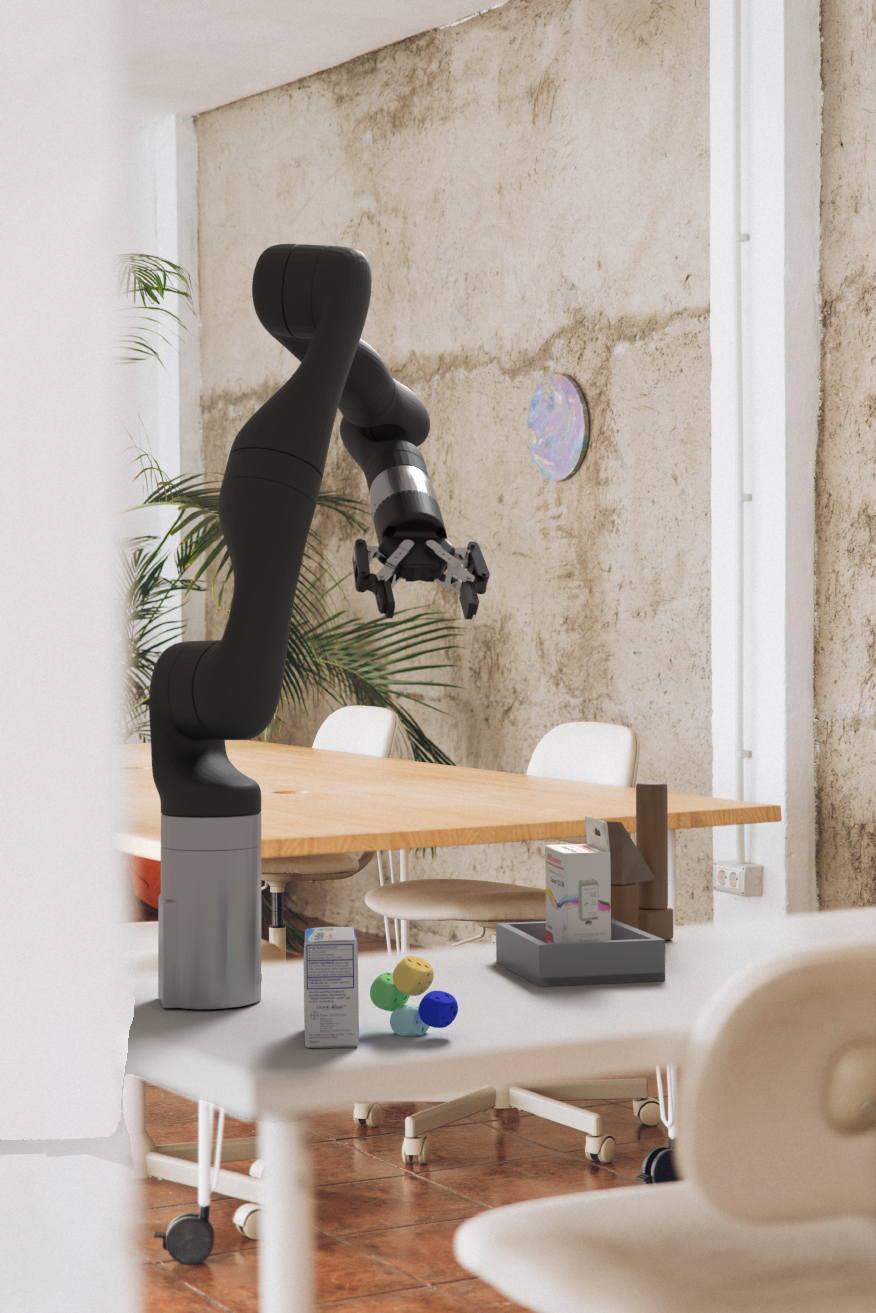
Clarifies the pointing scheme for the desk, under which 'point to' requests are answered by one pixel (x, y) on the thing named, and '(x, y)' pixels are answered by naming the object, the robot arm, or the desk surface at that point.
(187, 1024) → the desk surface
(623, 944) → the box
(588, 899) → the ink cartridge box
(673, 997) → the desk surface
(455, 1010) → the dice
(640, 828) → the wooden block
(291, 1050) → the desk surface
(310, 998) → the medicine box
